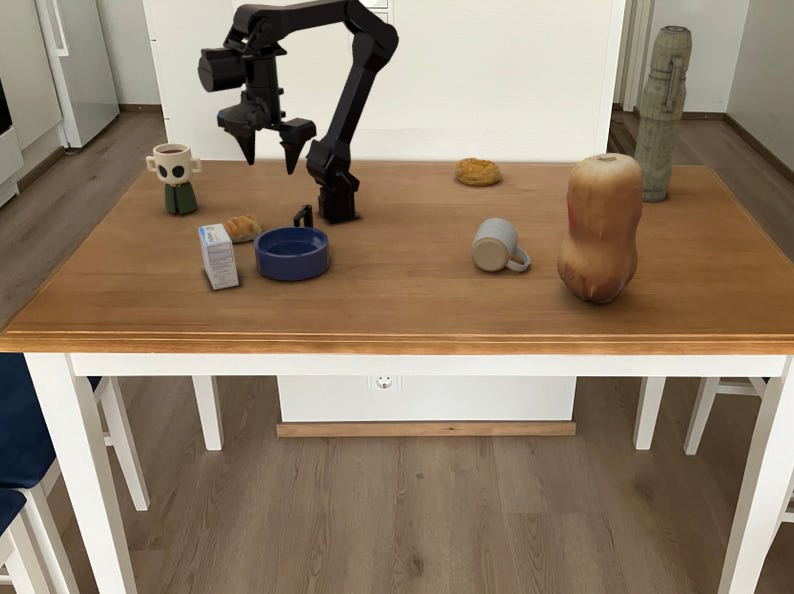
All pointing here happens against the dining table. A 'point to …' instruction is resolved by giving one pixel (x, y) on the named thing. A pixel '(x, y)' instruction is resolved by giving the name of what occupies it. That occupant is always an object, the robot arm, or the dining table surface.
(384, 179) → the dining table surface
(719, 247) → the dining table surface
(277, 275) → the basin
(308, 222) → the tap
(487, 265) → the ceramic mug
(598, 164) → the butternut squash
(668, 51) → the thermos
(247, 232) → the pastry
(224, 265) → the medicine box
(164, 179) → the character mug
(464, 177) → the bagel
